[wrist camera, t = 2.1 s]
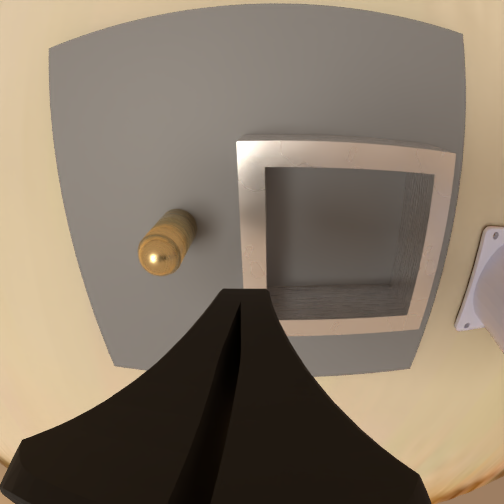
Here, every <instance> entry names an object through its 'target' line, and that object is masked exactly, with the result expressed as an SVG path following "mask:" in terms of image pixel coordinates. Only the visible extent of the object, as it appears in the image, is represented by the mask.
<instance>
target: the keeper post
mask: <svg viewBox="0 0 504 504" xmlns="http://www.w3.org/2000/svg"><path fill="white" fill-rule="evenodd" d="M196 234H197V223H196V221H195V219H194V217H193V216H192V215H191V214H190V213H189V212H187V211H185V210H182V209H171V210H169V211H167V212H166V213H165V214H164V215H163V216H162V217H161V218H160V219H159V221H158V222H157V223H156V224H155V225H154V226H153V227H152V228H151V230H150V231H149V232H148V233H147V234H146V235H145V237H144V238H143V239H142V240H141V241H140V243H139V246H138V259H139V262H140V264H141V266H142V267H143V268H144V270H146V271H147V272H148V273H150V274H152V275H154V276H167V275H170V274H172V273H174V272H175V271H176V270H177V269H178V268H179V267H180V265H181V263H182V261H183V259H184V257H185V255H186V253H187V251H188V249H189V247H190V246H191V244H192V242H193V240H194V238H195V236H196Z"/></svg>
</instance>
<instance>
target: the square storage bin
mask: <svg viewBox="0 0 504 504" xmlns="http://www.w3.org/2000/svg"><path fill="white" fill-rule="evenodd" d="M236 144H237V167H238V189H239V210H240V231H241V251H242V270H243V289H267V290H268V291H269V292H270V297H271V301H272V304H273V307H274V310H275V312H276V315H277V317H278V319H279V322H280V324H281V326H282V328H283V329H284V331H285V333H286V335H287V336H322V335H346V334H365V333H380V332H393V331H405V330H416V329H419V327H420V324H421V321H422V318H423V315H424V312H425V309H426V305H427V302H428V299H429V295H430V292H431V288H432V284H433V281H434V277H435V273H436V269H437V265H438V261H439V256H440V252H441V248H442V243H443V238H444V233H445V228H446V223H447V217H448V212H449V206H450V199H451V192H452V185H453V177H454V169H455V159H456V153H453V152H450V151H447V150H445V149H442V148H439V147H436V146H432V145H429V144H426V143H420V142H412V141H403V140H393V139H382V138H370V137H356V136H339V135H312V134H253V135H242V136H241V137H240V138H239V139H238V140H237V141H236ZM266 167H319V168H351V169H372V170H388V171H402V172H406V178H405V188H404V197H403V206H402V213H401V221H400V228H399V234H398V241H397V247H396V252H395V258H394V264H393V269H392V274H391V279H390V284H370V285H327V286H267V207H266Z"/></svg>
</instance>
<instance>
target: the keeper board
mask: <svg viewBox="0 0 504 504" xmlns="http://www.w3.org/2000/svg"><path fill="white" fill-rule="evenodd" d="M49 90H50V108H51V120H52V131H53V140H54V148H55V155H56V162H57V169H58V175H59V181H60V187H61V192H62V198H63V203H64V207H65V212H66V217H67V221H68V226H69V230H70V234H71V238H72V242H73V246H74V250H75V254H76V257H77V261H78V264H79V268H80V271H81V275H82V278H83V281H84V284H85V288H86V291H87V294H88V297H89V300H90V303H91V306H92V309H93V312H94V315H95V317H96V320H97V323H98V326H99V328H100V331H101V334H102V336H103V339H104V341H105V344H106V346H107V349H108V351H109V354H110V356H111V359H112V361H113V363H114V366H117V367H124V368H132V369H139V370H148V369H150V368H151V367H152V366H153V365H154V364H155V363H157V362H158V361H159V360H160V359H161V358H162V357H163V356H164V355H165V354H166V353H167V352H168V351H169V350H170V349H171V348H172V347H173V346H174V345H175V344H176V343H177V342H178V341H179V340H180V339H181V338H182V337H183V336H184V335H185V334H186V333H187V332H188V330H189V329H190V328H191V327H192V326H193V325H194V323H195V322H196V321H197V320H198V319H199V318H200V316H201V315H202V314H203V313H204V311H205V310H206V309H207V308H208V306H209V305H210V304H211V303H212V301H213V300H214V299H215V297H216V296H217V294H218V293H219V292H220V291H221V290H222V289H223V288H227V289H243V270H242V251H241V231H240V210H239V189H238V167H237V144H236V141H237V140H238V139H239V138H240V137H241V136H242V135H253V134H312V135H339V136H356V137H370V138H382V139H393V140H403V141H412V142H420V143H426V144H429V145H432V146H436V147H439V148H442V149H445V150H447V151H450V152H453V153H456V159H455V169H454V177H453V185H452V192H451V199H450V206H449V212H448V217H447V223H446V228H445V233H444V238H443V243H442V248H441V252H440V256H439V261H438V265H437V269H436V273H435V277H434V281H433V284H432V288H431V292H430V295H429V299H428V302H427V305H426V309H425V312H424V315H423V318H422V321H421V324H420V327H419V329H416V330H405V331H393V332H380V333H365V334H346V335H322V336H287V337H288V339H289V341H290V343H291V344H292V346H293V348H294V349H295V351H296V353H297V354H298V356H299V357H300V359H301V360H302V362H303V363H304V365H305V366H306V368H307V369H308V371H309V372H310V373H311V375H312V376H313V377H319V376H338V375H353V374H365V373H376V372H386V371H394V370H403V369H410V367H411V365H412V362H413V360H414V357H415V354H416V352H417V349H418V347H419V344H420V341H421V338H422V336H423V333H424V330H425V327H426V324H427V321H428V318H429V315H430V312H431V309H432V306H433V303H434V299H435V296H436V293H437V289H438V286H439V282H440V278H441V275H442V271H443V267H444V263H445V259H446V255H447V250H448V246H449V241H450V237H451V232H452V227H453V222H454V216H455V210H456V205H457V198H458V192H459V184H460V177H461V168H462V159H463V147H464V133H465V109H466V79H465V56H464V43H463V34H461V33H458V32H455V31H452V30H449V29H445V28H442V27H439V26H435V25H432V24H428V23H424V22H421V21H417V20H412V19H408V18H404V17H399V16H394V15H389V14H384V13H379V12H373V11H367V10H360V9H353V8H344V7H335V6H324V5H309V4H244V5H229V6H217V7H208V8H200V9H192V10H185V11H179V12H173V13H167V14H162V15H157V16H152V17H148V18H143V19H139V20H135V21H131V22H127V23H123V24H119V25H115V26H112V27H108V28H105V29H102V30H99V31H95V32H92V33H89V34H86V35H83V36H80V37H78V38H75V39H72V40H69V41H67V42H64V43H61V44H59V45H56V46H54V47H51V48H49ZM405 178H406V172H402V171H388V170H372V169H351V168H319V167H266V207H267V286H327V285H370V284H390V279H391V274H392V269H393V264H394V258H395V252H396V247H397V241H398V234H399V228H400V221H401V213H402V206H403V197H404V188H405ZM171 209H182V210H185V211H187V212H189V213H190V214H191V215H192V216H193V217H194V219H195V221H196V223H197V234H196V236H195V238H194V240H193V242H192V244H191V246H190V247H189V249H188V251H187V253H186V255H185V257H184V259H183V261H182V263H181V265H180V267H179V268H178V269H177V270H176V271H175V272H174V273H172V274H170V275H167V276H154V275H152V274H150V273H148V272H147V271H146V270H144V268H143V267H142V266H141V264H140V262H139V259H138V246H139V243H140V241H141V240H142V239H143V238H144V237H145V235H146V234H147V233H148V232H149V231H150V230H151V228H152V227H153V226H154V225H155V224H156V223H157V222H158V221H159V219H160V218H161V217H162V216H163V215H164V214H165V213H166V212H167V211H169V210H171Z"/></svg>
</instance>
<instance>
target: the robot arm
mask: <svg viewBox="0 0 504 504" xmlns="http://www.w3.org/2000/svg"><path fill="white" fill-rule="evenodd" d="M494 233H495V235H494ZM493 235H494V236H493ZM454 326H455V329H456V330H457V331H464V330H471V329H477V328H483V327H485V328H486V329H487V330H488V332H489V333H490V334H491V336H492V337H493V339H494V340H495V342H496V343H497V344H498V346H499V347H500V349H501V350H502V352H503V353H504V227H499V226H487V227H486V228H485V229H484V231H483V233H482V237H481V242H480V246H479V250H478V254H477V257H476V261H475V265H474V268H473V272H472V275H471V278H470V281H469V285H468V288H467V291H466V294H465V297H464V300H463V303H462V306H461V309H460V311H459V314H458V317H457V319H456V322H455V325H454ZM0 490H1V492H2V494H3V495H4V496H6V497H7V498H8V499H10V500H11V501H12V502H14V503H15V504H431V501H430V498H429V496H428V493H427V491H426V488H425V486H424V484H423V482H422V479H421V477H420V475H419V474H418V473H416V472H415V471H413V470H412V469H410V468H409V467H408V466H406V465H405V464H403V463H402V462H400V461H399V460H398V459H396V458H395V457H394V456H392V455H391V454H390V453H389V452H387V451H386V450H385V449H383V448H382V447H381V446H380V445H378V444H377V443H376V442H375V441H374V440H373V439H371V438H370V437H369V436H368V435H367V434H366V433H365V432H363V431H362V430H361V429H360V428H359V427H358V426H357V425H356V424H355V423H354V422H353V421H352V420H351V419H350V418H349V417H348V416H347V415H346V414H345V413H344V412H343V411H342V410H341V409H340V408H339V407H338V406H337V405H336V404H335V403H334V402H333V400H332V399H331V398H330V397H329V396H328V395H327V393H326V392H325V391H324V390H323V389H322V387H321V386H320V385H319V384H318V382H317V381H316V380H315V379H314V377H313V376H312V375H311V373H310V372H309V371H308V369H307V368H306V366H305V365H304V363H303V362H302V360H301V359H300V357H299V356H298V354H297V353H296V351H295V349H294V348H293V346H292V344H291V343H290V341H289V339H288V337H287V335H286V333H285V331H284V329H283V328H282V326H281V324H280V322H279V319H278V317H277V315H276V312H275V310H274V307H273V304H272V301H271V297H270V292H269V291H268V290H267V289H227V288H223V289H222V290H221V291H220V292H219V293H218V294H217V296H216V297H215V299H214V300H213V301H212V303H211V304H210V305H209V306H208V308H207V309H206V310H205V311H204V313H203V314H202V315H201V316H200V318H199V319H198V320H197V321H196V322H195V323H194V325H193V326H192V327H191V328H190V329H189V330H188V332H187V333H186V334H185V335H184V336H183V337H182V338H181V339H180V340H179V341H178V342H177V343H176V344H175V345H174V346H173V347H172V348H171V349H170V350H169V351H168V352H167V353H166V354H165V355H164V356H163V357H162V358H161V359H160V360H159V361H158V362H157V363H155V364H154V365H153V366H152V367H151V368H150V369H148V370H147V371H146V372H145V373H144V374H142V375H141V376H140V377H139V378H137V379H136V380H135V381H133V382H132V383H131V384H129V385H128V386H126V387H125V388H123V389H122V390H121V391H119V392H118V393H116V394H115V395H113V396H112V397H110V398H109V399H107V400H106V401H104V402H102V403H101V404H99V405H97V406H96V407H94V408H92V409H90V410H89V411H87V412H85V413H83V414H81V415H79V416H77V417H75V418H74V419H72V420H70V421H67V422H65V423H63V424H61V425H59V426H56V427H54V428H52V429H49V430H47V431H44V432H42V433H39V434H37V435H34V436H32V437H29V438H26V439H23V440H22V441H21V443H20V445H19V447H18V449H17V451H16V453H15V455H14V457H13V459H12V461H11V463H10V465H9V467H8V469H7V472H6V473H5V476H4V478H3V480H2V482H1V484H0Z"/></svg>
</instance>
